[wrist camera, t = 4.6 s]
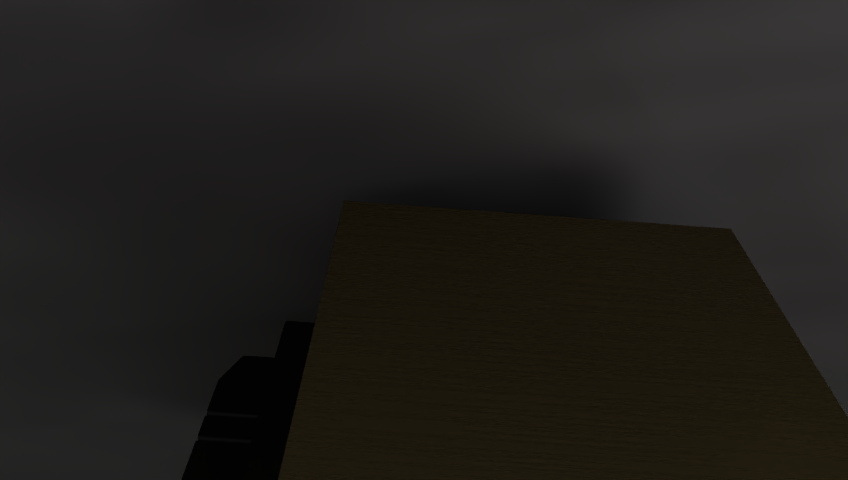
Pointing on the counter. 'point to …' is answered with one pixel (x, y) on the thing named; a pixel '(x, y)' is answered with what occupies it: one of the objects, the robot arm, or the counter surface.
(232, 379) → the robot arm
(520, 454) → the block
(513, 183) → the counter surface
